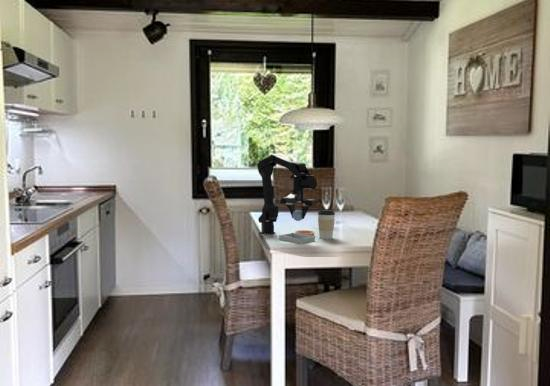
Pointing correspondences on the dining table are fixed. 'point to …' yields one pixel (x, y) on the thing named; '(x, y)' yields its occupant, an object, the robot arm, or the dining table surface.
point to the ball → (297, 215)
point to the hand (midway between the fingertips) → (297, 218)
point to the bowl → (305, 232)
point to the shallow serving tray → (302, 238)
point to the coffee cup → (326, 223)
